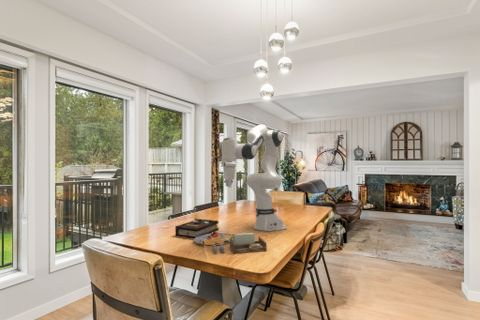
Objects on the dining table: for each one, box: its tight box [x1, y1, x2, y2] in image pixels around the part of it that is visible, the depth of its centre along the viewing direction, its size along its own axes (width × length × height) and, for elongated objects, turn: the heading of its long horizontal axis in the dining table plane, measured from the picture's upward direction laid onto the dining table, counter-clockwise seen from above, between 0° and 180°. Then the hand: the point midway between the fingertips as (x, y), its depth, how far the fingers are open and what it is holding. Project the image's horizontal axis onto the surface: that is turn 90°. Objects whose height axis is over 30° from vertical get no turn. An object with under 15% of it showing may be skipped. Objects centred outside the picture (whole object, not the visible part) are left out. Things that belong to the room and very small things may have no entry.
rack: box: [229, 236, 267, 255], centre depth 145 cm, size 17×12×5 cm
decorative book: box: [174, 217, 219, 240], centre depth 184 cm, size 19×8×30 cm
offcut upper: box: [250, 244, 261, 248], centre depth 144 cm, size 4×3×1 cm
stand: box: [212, 243, 226, 255], centre depth 142 cm, size 7×8×4 cm
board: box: [233, 232, 256, 245], centre depth 148 cm, size 11×2×7 cm, turn 102°
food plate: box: [193, 231, 235, 246], centre depth 163 cm, size 25×23×4 cm
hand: (228, 186), depth 165 cm, fingers open, 8 cm apart
